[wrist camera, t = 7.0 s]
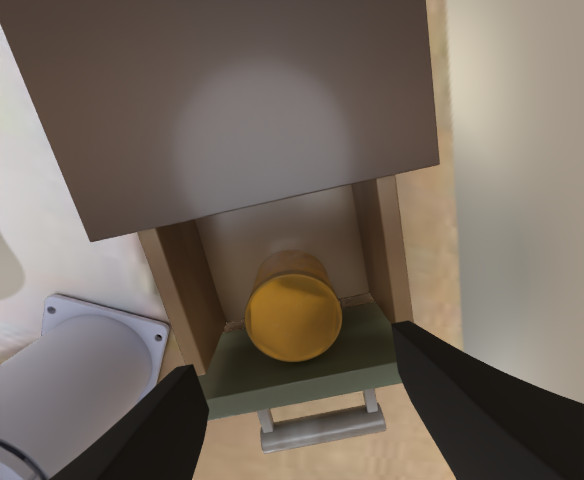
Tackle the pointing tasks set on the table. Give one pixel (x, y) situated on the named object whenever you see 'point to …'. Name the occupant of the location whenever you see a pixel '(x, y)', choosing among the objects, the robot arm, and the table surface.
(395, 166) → the cabinet
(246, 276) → the drawer
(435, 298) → the table surface
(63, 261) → the table surface
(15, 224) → the table surface
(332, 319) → the tin
